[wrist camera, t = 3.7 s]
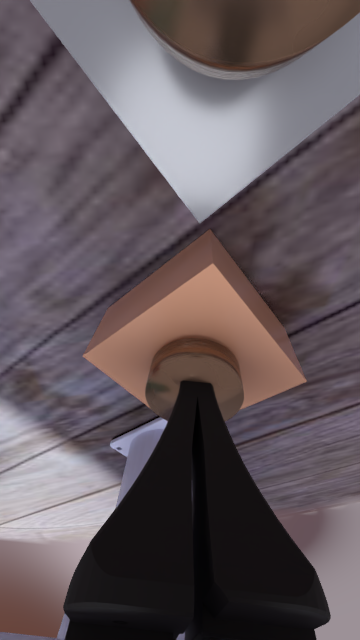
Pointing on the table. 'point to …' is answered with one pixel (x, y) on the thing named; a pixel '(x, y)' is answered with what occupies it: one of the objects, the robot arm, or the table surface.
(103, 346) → the terracotta press
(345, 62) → the grey square slab
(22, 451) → the table surface
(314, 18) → the brown round knob
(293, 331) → the table surface
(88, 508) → the table surface
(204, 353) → the bronze plunger
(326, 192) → the table surface
